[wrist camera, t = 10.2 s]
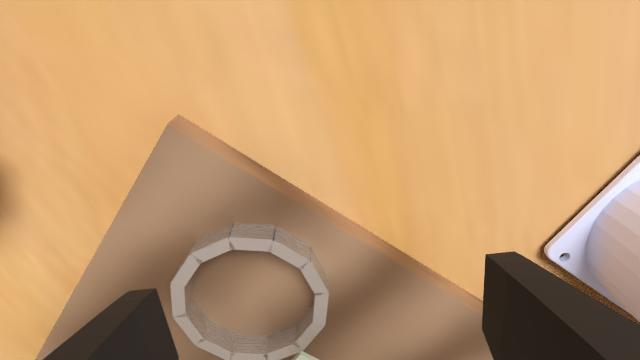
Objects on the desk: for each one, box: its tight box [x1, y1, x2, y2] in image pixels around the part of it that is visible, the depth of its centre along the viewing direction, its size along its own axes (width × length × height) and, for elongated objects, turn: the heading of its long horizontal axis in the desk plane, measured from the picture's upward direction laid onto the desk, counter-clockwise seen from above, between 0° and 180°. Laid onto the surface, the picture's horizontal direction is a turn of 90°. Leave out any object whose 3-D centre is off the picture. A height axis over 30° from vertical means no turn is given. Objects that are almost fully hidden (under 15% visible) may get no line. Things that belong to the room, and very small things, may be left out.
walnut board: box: [35, 115, 494, 360], centre depth 22 cm, size 22×16×2 cm
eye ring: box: [170, 223, 329, 360], centre depth 19 cm, size 7×7×1 cm
